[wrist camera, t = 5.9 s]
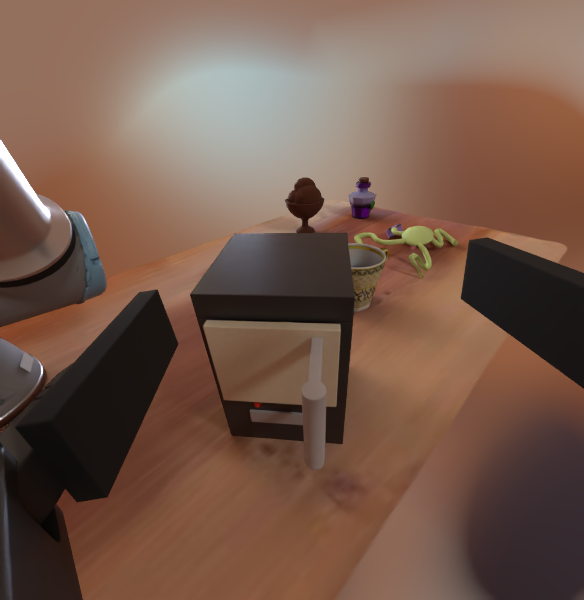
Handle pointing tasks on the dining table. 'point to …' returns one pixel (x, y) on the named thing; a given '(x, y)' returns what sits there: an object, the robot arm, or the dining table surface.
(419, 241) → the figurine
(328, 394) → the chamber door
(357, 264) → the ceramic cup
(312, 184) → the ice cream bowl
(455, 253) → the dining table surface
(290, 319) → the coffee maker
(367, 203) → the potion bottle
